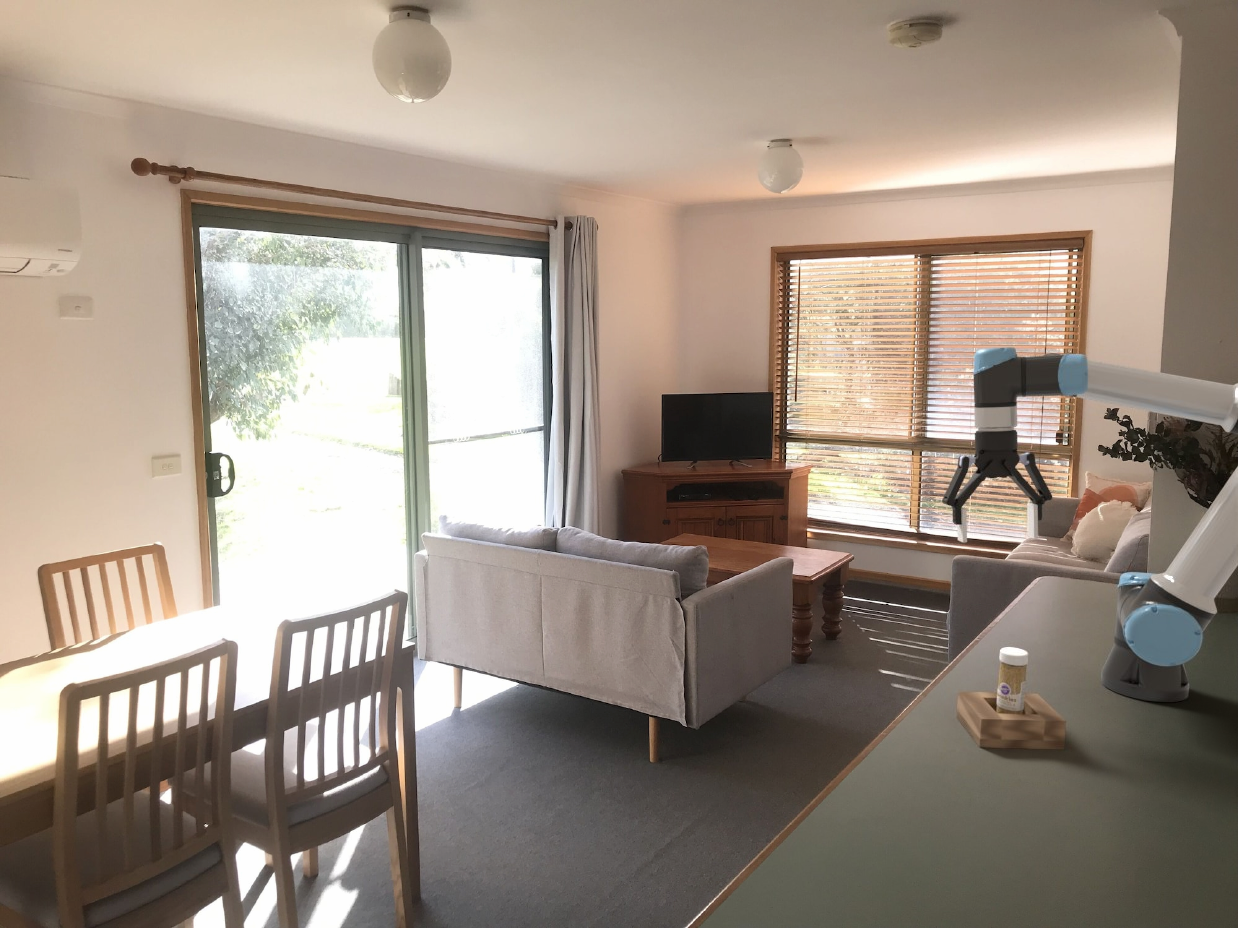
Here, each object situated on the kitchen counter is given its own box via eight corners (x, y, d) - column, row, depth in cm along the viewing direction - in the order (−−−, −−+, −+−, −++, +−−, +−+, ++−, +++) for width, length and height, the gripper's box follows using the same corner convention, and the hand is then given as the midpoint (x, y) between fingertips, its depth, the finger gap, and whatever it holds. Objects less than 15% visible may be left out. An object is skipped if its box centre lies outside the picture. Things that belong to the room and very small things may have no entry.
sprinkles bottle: (991, 724, 160) (996, 650, 158) (999, 716, 163) (1004, 644, 161) (1018, 732, 157) (1024, 657, 155) (1026, 723, 160) (1032, 650, 159)
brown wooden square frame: (1034, 719, 166) (1036, 693, 165) (1063, 749, 154) (1066, 721, 153) (956, 717, 166) (958, 691, 166) (979, 747, 155) (981, 718, 154)
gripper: (1051, 425, 178) (1052, 532, 180) (923, 431, 178) (926, 539, 180) (1070, 426, 171) (1071, 539, 172) (937, 433, 170) (940, 546, 172)
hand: (997, 539), depth 176 cm, fingers open, 13 cm apart
